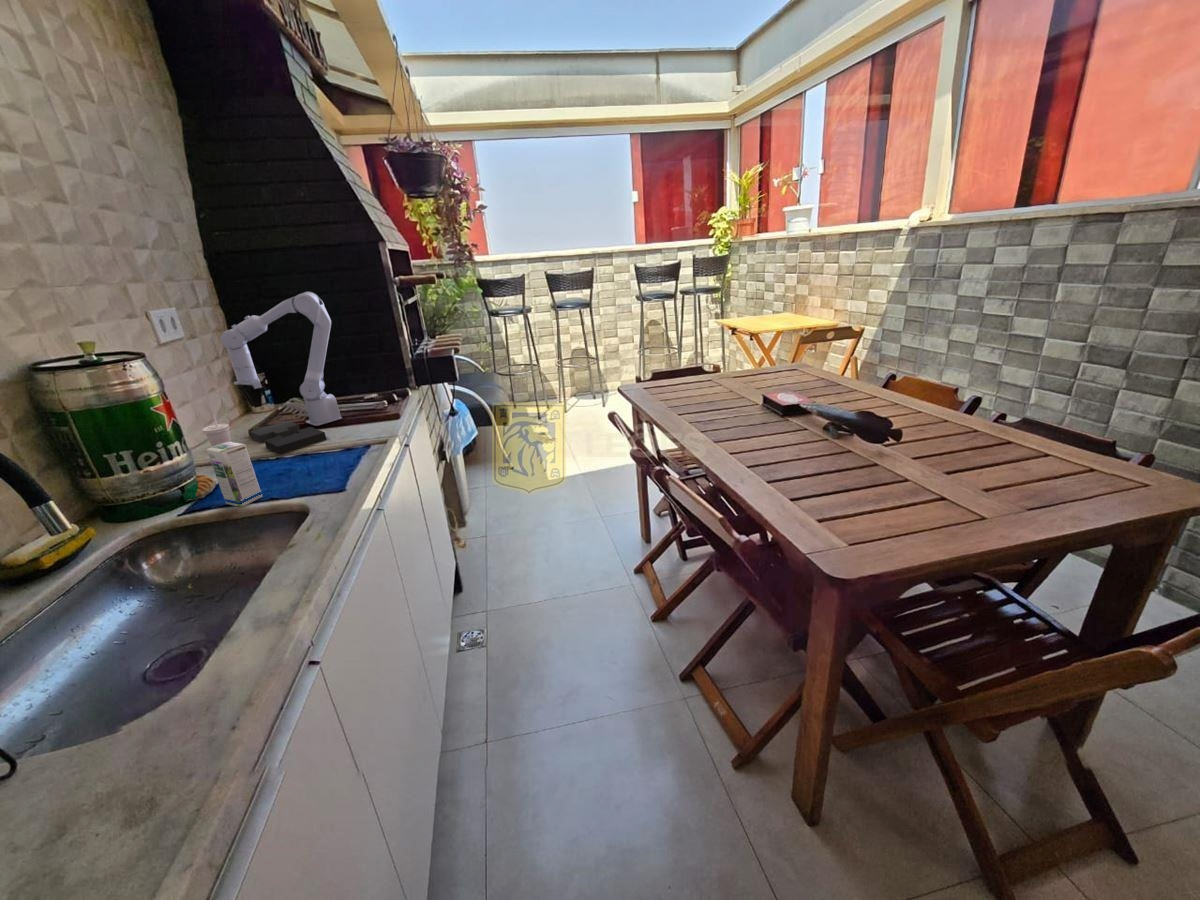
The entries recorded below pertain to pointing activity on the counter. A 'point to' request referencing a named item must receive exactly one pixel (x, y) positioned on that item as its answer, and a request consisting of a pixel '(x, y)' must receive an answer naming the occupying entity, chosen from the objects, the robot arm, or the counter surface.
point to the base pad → (295, 440)
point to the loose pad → (275, 431)
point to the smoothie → (217, 433)
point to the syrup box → (234, 472)
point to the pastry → (204, 486)
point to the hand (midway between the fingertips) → (256, 406)
